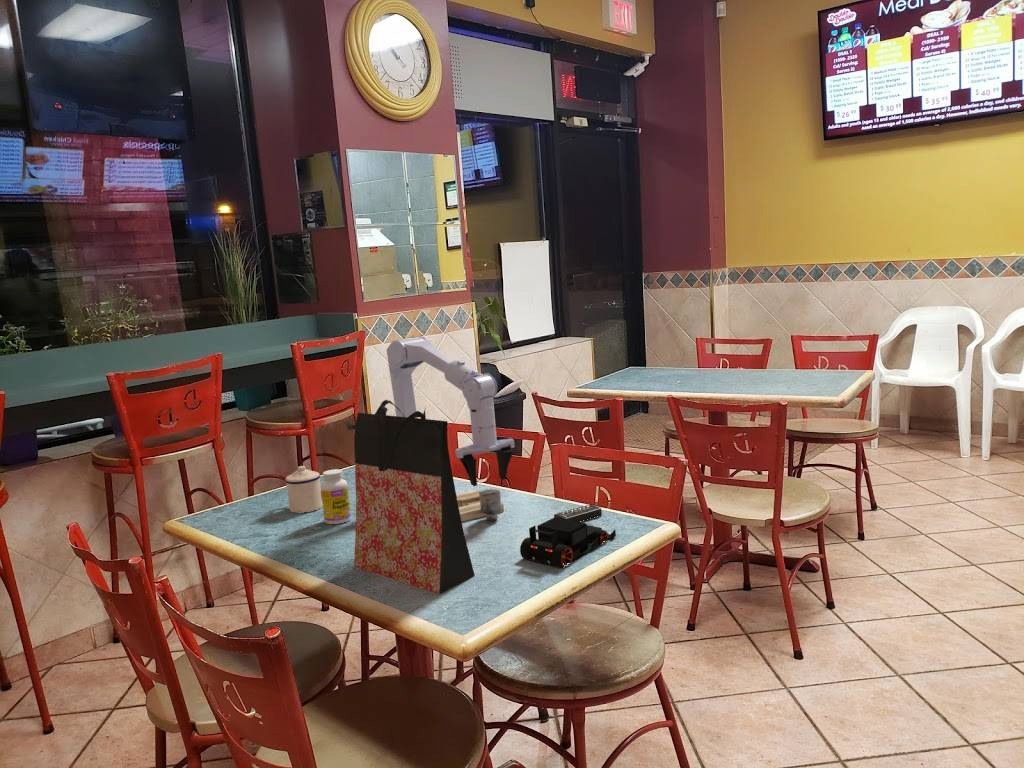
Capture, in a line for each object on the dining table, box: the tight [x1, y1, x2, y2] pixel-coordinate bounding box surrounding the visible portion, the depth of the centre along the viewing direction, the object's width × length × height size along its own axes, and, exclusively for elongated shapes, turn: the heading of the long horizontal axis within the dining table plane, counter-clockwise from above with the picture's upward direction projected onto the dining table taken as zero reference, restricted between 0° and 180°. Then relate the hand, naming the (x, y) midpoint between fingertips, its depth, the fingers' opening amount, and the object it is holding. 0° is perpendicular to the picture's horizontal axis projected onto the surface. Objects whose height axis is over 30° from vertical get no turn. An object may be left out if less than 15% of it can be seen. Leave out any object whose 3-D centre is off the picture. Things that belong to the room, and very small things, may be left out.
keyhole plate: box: [456, 489, 505, 523], centre depth 192 cm, size 16×15×2 cm
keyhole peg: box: [479, 488, 502, 523], centre depth 183 cm, size 5×5×7 cm
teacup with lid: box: [284, 465, 323, 513], centre depth 205 cm, size 12×9×12 cm
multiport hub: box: [553, 504, 603, 522], centre depth 179 cm, size 4×11×2 cm, turn 121°
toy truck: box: [519, 516, 617, 568], centre depth 160 cm, size 10×20×7 cm, turn 139°
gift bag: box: [345, 399, 476, 595], centre depth 154 cm, size 29×14×35 cm, turn 49°
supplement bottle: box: [320, 468, 352, 525], centre depth 192 cm, size 7×7×13 cm
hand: (488, 481), depth 182 cm, fingers open, 7 cm apart
